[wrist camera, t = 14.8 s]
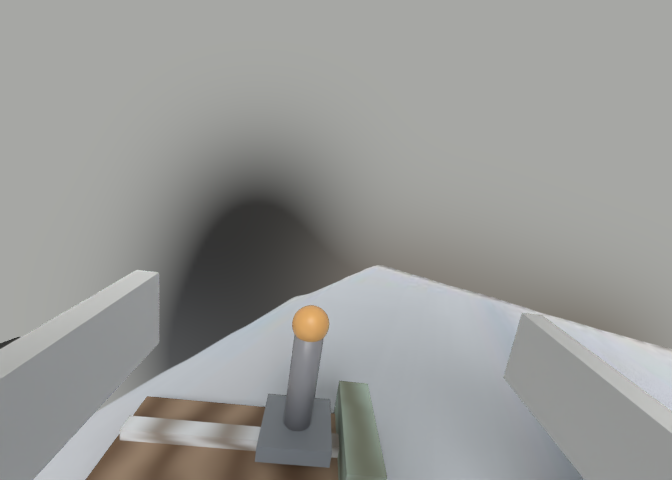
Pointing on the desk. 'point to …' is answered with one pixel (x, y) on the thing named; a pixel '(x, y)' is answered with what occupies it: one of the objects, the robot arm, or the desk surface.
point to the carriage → (299, 402)
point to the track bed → (197, 457)
